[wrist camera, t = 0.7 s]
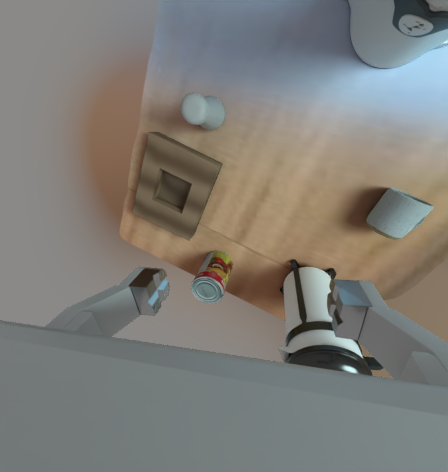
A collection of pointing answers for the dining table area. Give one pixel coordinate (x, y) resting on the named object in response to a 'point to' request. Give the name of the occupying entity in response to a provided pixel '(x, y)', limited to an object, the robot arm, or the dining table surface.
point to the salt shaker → (203, 111)
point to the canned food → (212, 277)
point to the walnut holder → (174, 185)
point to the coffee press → (317, 326)
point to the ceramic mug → (397, 214)
